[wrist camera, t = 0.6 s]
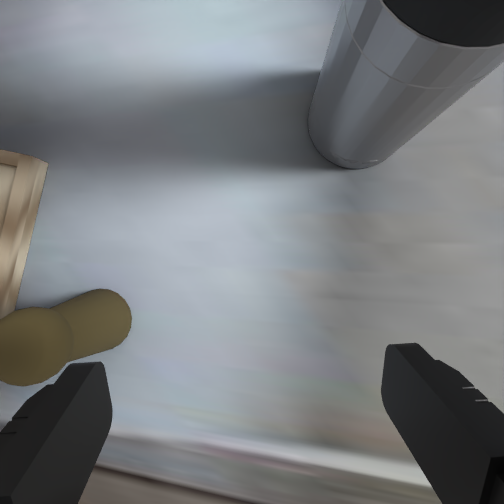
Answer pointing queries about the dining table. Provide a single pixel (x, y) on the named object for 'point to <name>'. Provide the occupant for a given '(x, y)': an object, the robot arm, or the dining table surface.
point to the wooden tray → (17, 219)
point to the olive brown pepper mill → (60, 335)
